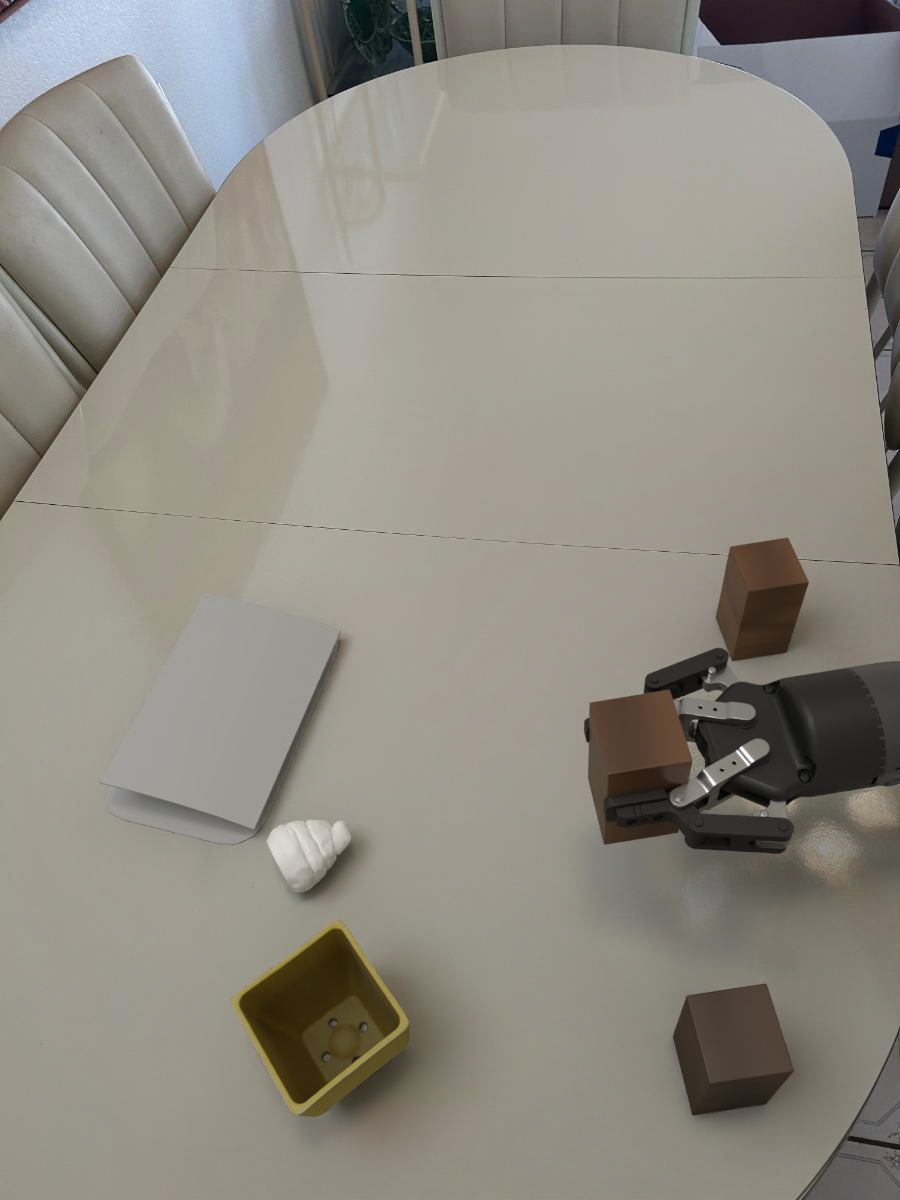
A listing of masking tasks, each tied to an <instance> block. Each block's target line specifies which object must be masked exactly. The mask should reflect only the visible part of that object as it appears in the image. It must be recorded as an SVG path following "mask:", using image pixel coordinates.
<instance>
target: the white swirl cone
mask: <svg viewBox="0 0 900 1200" xmlns="http://www.w3.org/2000/svg"><path fill="white" fill-rule="evenodd" d="M351 841H352V835H351V832H350V831H349V830H348V828H347V823H346V821H344V820H338V821H335V823H333V825H331V823H330V822H329V821H327V820H323V819H315V818H314V819H307V820H306V821H304V820H292V821H288V822H286V824H281V823H280V824H278V825H277V826H276V827H274V828H273V829H272V830H271V831H270V833H269V835H268V838H266V844H267V845H268V848H269V850H270V852H271V854H272V856H273V859H274V860H275V863H276V865H277V866H278V869H279V871H280V872H281V874H282V876H283V879H284V880H285V882H286V883H287V885H288V887H289V888H290V890H291V892H292V893H293V892H294V893H298V894H303V893H305V892H308V891H309V890H311V889H312V888H314V887H315V885H316V884H318V883H319V882H321V880H322V879H323V878H324V877H325V876H326V874H327V872H328V870H330V869H331V868H332V866H333V865H334V864H335V862H336V860H337V856H339V855H341V854H342V853H343V852H344V850H345V849H346V848H347V847H348V846H349V845H350V843H351Z"/></svg>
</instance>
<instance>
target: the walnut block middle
mask: <svg viewBox="0 0 900 1200" xmlns="http://www.w3.org/2000/svg"><path fill="white" fill-rule="evenodd" d="M588 705H589V706H588V707H589V708H588V711H589V712H588V713H589V715H588V718H589V743H588V754H587V755H588V756H587V757H588V760H587V761H588V762H587V764H588V765H587V781H588V784H589V789H590V793H591V797H592V801H593V806H594V810H595V814H596V818H597V822H598V826H599V831H600V835H601V839H602V843H603V845H604V846H607V845H612V844H619V843H626V842H632V841H637V840H644V839H649V838H650V839H651V838H655V837H656V838H657V837H662V836H668V835H676V834H679V831H680V830H679V828H678V827H677V826H676V825H675V824H673V823H671V822H659V823H653V824H647V825H641V826H635V827H628V828H624V827H619V826H617V824H616V821H615V822H607V821H606V820H605V816H604V812H603V801H604V799H605V798H608V797H611V796H617V795H623V794H629V793H636V792H642V791H648V790H654V789H660V788H665V792H666V793H667V792H671V791H672V790H673V789H675V788H677V787H679V786H680V785H682V784H687V783H688V781H689V780H690V776H691V772H692V766H693V757H692V754H691V750H690V747H689V744H688V741H686V738H685V735H684V732H683V729H682V726H681V723H680V720H679V717H678V713H677V710H676V707H675V704H674V701H673V698H672V695H671V692H670V690H664V691H658V692H652V693H645V694H643V693H640V694H634V695H627V696H621V697H614V698H610V699H604V700H602V699H601V700H596V701H591V702H589V704H588Z"/></svg>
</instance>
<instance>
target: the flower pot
mask: <svg viewBox="0 0 900 1200" xmlns="http://www.w3.org/2000/svg"><path fill="white" fill-rule="evenodd" d="M230 1007H232V1010H233V1012H234V1013H235V1015H236V1016H237V1019H238V1020H239V1022H240V1023H241V1025H242V1027H243V1029H244V1031H245V1032H246V1034H247V1036H248V1038H249V1039H250V1041H251V1043H252V1045H253V1047H254V1048H255V1050H256V1052H257V1054H258V1055H259V1057H260V1059H261V1061H262V1063H263V1065H264V1067H265V1068H266V1070H267V1072H268V1074H269V1075H270V1077H271V1079H272V1081H273V1082H274V1085H275V1086H276V1088H277V1090H278V1092H279V1093H280V1095H281V1098H282V1099H283V1101H284V1103H285V1104H286V1106H287V1108H288V1110H289V1112H290V1113H291V1114H293V1116H300V1117H307V1118H309V1117H312V1118H316V1117H320V1116H322V1115H324V1114H325V1113H326V1112H329V1110H330V1109H332V1108H333V1107H334V1106H335V1105H337V1104H338V1103H339V1102H340V1101H341V1100H343V1099H344V1098H345V1097H346V1096H347V1095H349V1094H350V1093H351V1092H352V1091H353V1090H355V1089H356V1088H357V1087H359V1086H360V1085H361V1084H362V1083H363V1082H364V1081H366V1080H367V1079H368V1078H369V1077H371V1076H372V1075H373V1074H374V1073H375V1072H377V1071H378V1070H380V1068H382V1067H383V1066H385V1065H386V1064H387V1063H388V1062H389V1061H390V1060H392V1059H393V1058H395V1057H396V1056H398V1054H399V1053H401V1052H402V1051H404V1049H406V1047H407V1046H408V1045H409V1043H410V1039H411V1033H410V1032H411V1031H410V1020H409V1017H408V1015H407V1014H406V1012H405V1011H404V1010H403V1008H402V1006H401V1005H400V1004H399V1002H398V1001H397V999H396V998H395V996H394V995H393V994H392V992H391V990H390V989H389V988H388V986H387V985H386V984H385V982H384V980H383V979H382V978H381V976H380V975H379V973H378V972H377V970H376V969H375V968H374V966H373V964H372V962H370V959H369V958H368V957H367V955H366V954H365V952H364V951H363V949H362V948H361V946H360V944H358V942H357V940H356V939H355V937H354V935H353V934H352V933H351V931H350V930H349V928H348V927H347V925H346V924H345V922H343V921H342V920H341V919H335V920H333V921H332V922H330V923H328V925H326V926H324V928H322V929H321V930H320V931H318V932H317V933H316V934H314V935H313V936H312V937H311V938H310V939H308V940H307V941H306V942H304V943H303V944H301V945H300V946H299V947H298V948H296V949H295V950H294V951H293V952H292V953H290V954H289V955H287V956H286V957H285V958H284V959H282V960H280V961H279V962H278V963H276V964H275V965H274V966H273V967H270V968H269V969H268V970H267V971H265V972H264V973H262V974H261V975H260V976H258V977H257V978H256V979H254V980H253V981H251V982H250V983H249V984H247V985H246V986H244V987H243V988H241V989H240V990H239V991H238V992H237V993H236V994H234V995H233V996H232V998H231V999H230ZM332 1020H335V1021H336V1025H335V1026H334V1027H333V1026H331V1021H332ZM363 1024H365V1025H366V1030H365V1031H362V1030H361V1026H362V1025H363ZM325 1054H329V1059H328V1060H327V1061H325V1060H324V1058H323V1057H324V1055H325ZM356 1058H357V1059H356ZM355 1059H356V1060H355Z"/></svg>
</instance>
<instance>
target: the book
mask: <svg viewBox="0 0 900 1200" xmlns="http://www.w3.org/2000/svg"><path fill="white" fill-rule="evenodd" d="M341 632H342V630H340V629H338V628H336V627H333V626H330V625H327V624H324V623H322V622H319V621H316V620H313V619H311V618H308V617H304V616H302V615H298V614H294V613H291V612H288V611H284V610H281V609H277V608H273V607H269V606H264V605H262V604H257V603H254V602H249V601H245V600H240V599H236V598H233V597H228V596H223V595H218V594H217V595H216V594H212V593H206V592H204V593H203V595H202V597H201V599H200V600H199V602H198V604H197V606H196V607H195V609H194V610H193V613H192V615H191V617H190V618H189V620H188V622H187V623H186V626H185V628H184V629H183V631H182V632H181V635H180V637H179V638H178V640H177V642H176V644H175V645H174V647H173V649H172V651H171V652H170V655H169V656H168V658H167V660H166V661H165V663H164V665H163V667H162V669H161V671H160V673H159V674H158V676H157V678H156V680H155V681H154V683H153V685H152V687H151V688H150V690H149V692H148V694H147V696H146V697H145V699H144V701H143V703H142V704H141V706H140V708H139V710H138V712H137V714H136V716H135V717H134V718H133V721H132V722H131V724H130V726H129V728H128V730H127V731H126V733H125V735H124V737H123V738H122V741H121V742H120V745H119V746H118V748H117V749H116V751H115V753H114V755H113V757H112V758H111V761H110V762H109V764H108V766H107V768H106V769H105V771H104V773H103V775H102V777H101V778H100V780H99V784H100V785H105V786H107V787H106V789H105V790H106V791H105V795H104V802H105V803H106V806H107V809H108V811H109V813H111V814H113V816H116V817H118V818H120V819H121V820H123V821H127V822H130V823H135V824H138V825H142V826H146V827H151V828H155V829H158V830H163V831H165V832H171V833H174V834H178V835H183V836H186V837H190V838H193V839H199V840H203V841H206V842H210V843H214V844H219V845H238V844H240V843H243V842H244V841H247V840H249V839H251V838H254V837H255V836H256V834H257V833H258V832H259V831H260V829H261V828H262V827H263V825H264V824H265V823H266V822H267V820H268V819H267V818H268V817H269V814H270V812H271V809H272V807H273V805H274V802H275V799H276V798H277V795H278V793H279V790H280V788H281V786H282V783H283V781H284V779H285V777H286V774H287V772H288V769H289V767H290V765H291V763H292V760H293V758H294V756H295V753H296V751H297V748H298V747H299V744H300V741H301V739H302V738H303V734H304V733H305V730H306V728H307V725H308V723H309V721H310V718H311V716H312V713H313V711H314V709H315V707H316V704H317V702H318V700H319V697H320V695H321V693H322V690H323V688H324V686H325V683H326V681H327V680H328V679H327V678H328V676H329V674H330V672H331V669H332V667H333V664H334V663H335V660H336V658H337V655H338V653H339V652H338V651H339V637H340V635H341Z"/></svg>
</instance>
